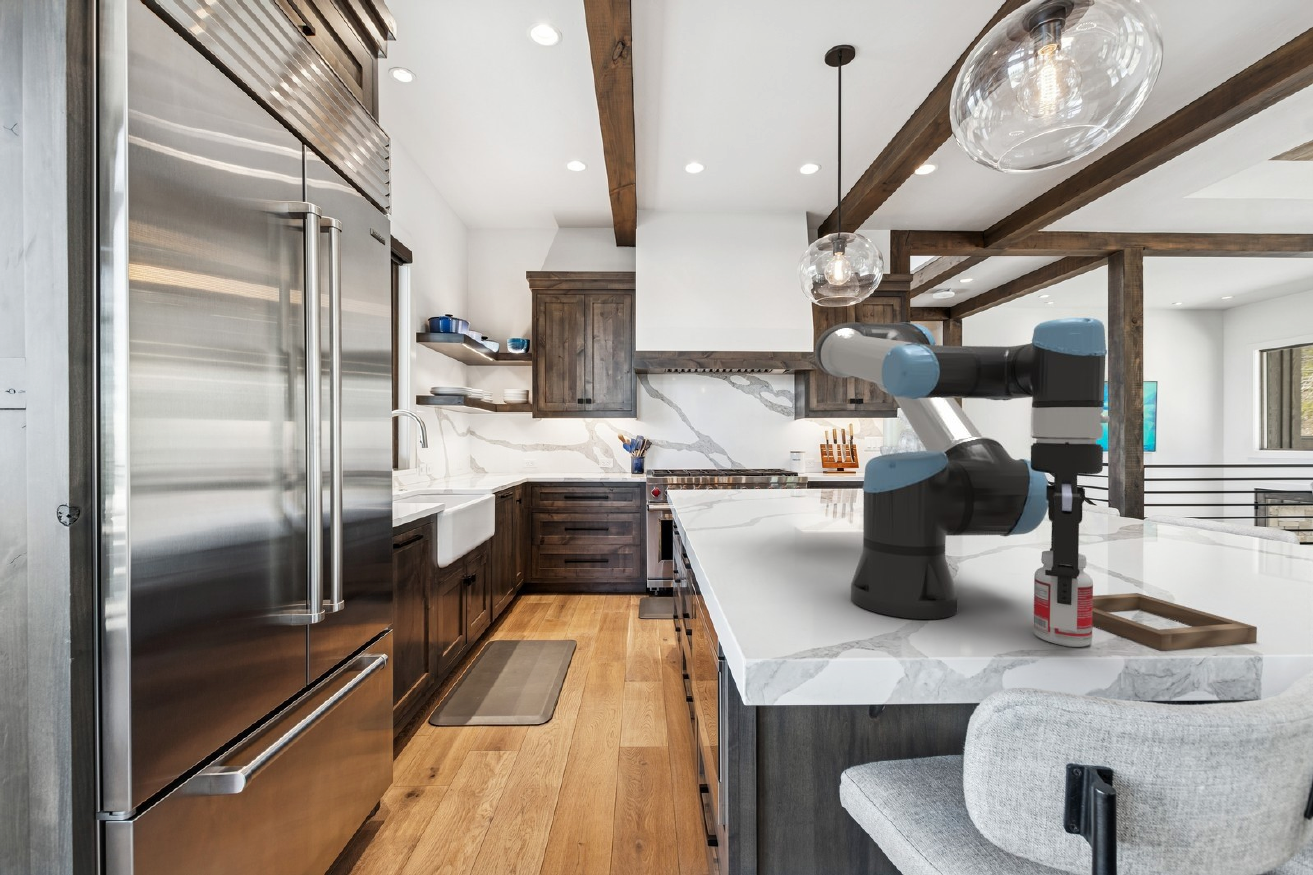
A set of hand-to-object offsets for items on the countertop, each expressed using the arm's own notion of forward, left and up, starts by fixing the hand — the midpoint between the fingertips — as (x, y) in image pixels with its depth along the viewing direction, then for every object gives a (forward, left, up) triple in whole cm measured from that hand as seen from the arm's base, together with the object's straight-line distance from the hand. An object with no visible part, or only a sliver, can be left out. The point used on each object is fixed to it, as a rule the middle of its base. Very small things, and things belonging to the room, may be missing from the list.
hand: (1062, 620), depth 74 cm
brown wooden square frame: (+10, +13, -3) cm, 17 cm away
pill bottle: (0, 0, -3) cm, 3 cm away
